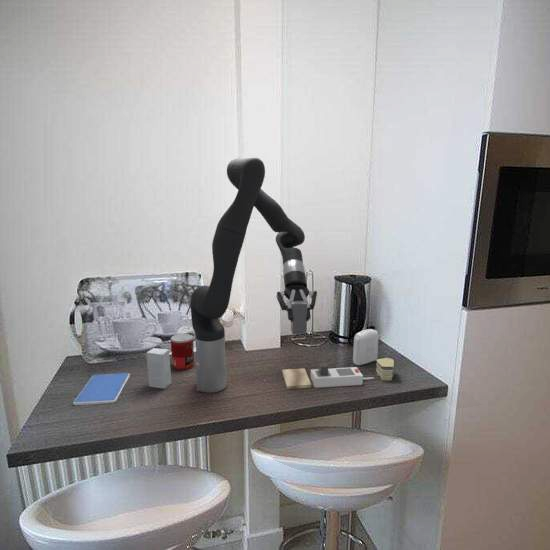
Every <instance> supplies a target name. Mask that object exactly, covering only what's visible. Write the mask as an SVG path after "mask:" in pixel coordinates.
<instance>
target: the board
mask: <svg viewBox="0 0 550 550" xmlns="http://www.w3.org/2000/svg"><path fill="white" fill-rule="evenodd" d="M281 372H282V377H283V380H284V384H285V386H286V389H287V390H291V389H292V390H293V389H309V388H312V386H313V383H312V381H311V379H310V377H309V375H308V373H307V371H306V369H305V368H292V369H291V368H288V369H282V370H281Z"/></svg>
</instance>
